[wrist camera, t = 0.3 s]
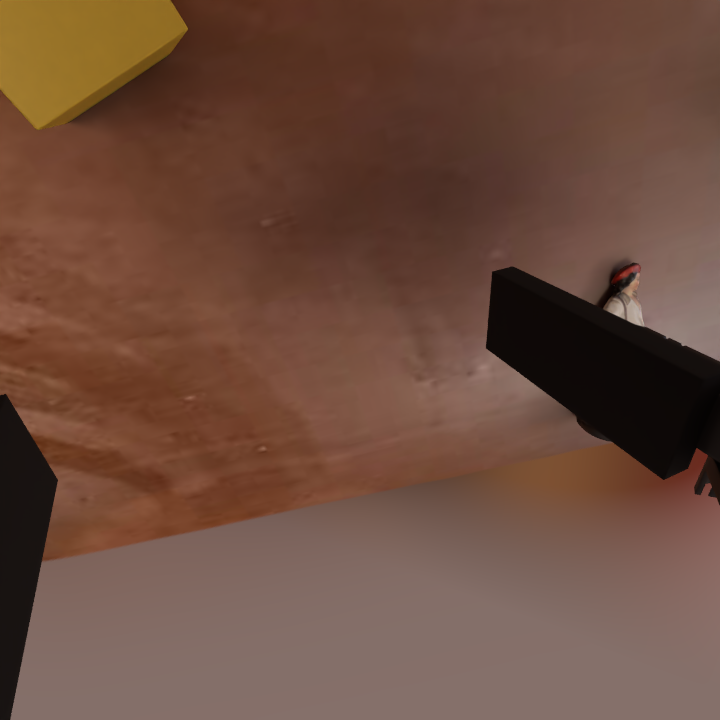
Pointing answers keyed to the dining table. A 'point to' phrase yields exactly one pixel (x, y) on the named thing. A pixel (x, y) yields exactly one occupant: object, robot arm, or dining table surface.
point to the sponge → (79, 51)
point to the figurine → (621, 312)
